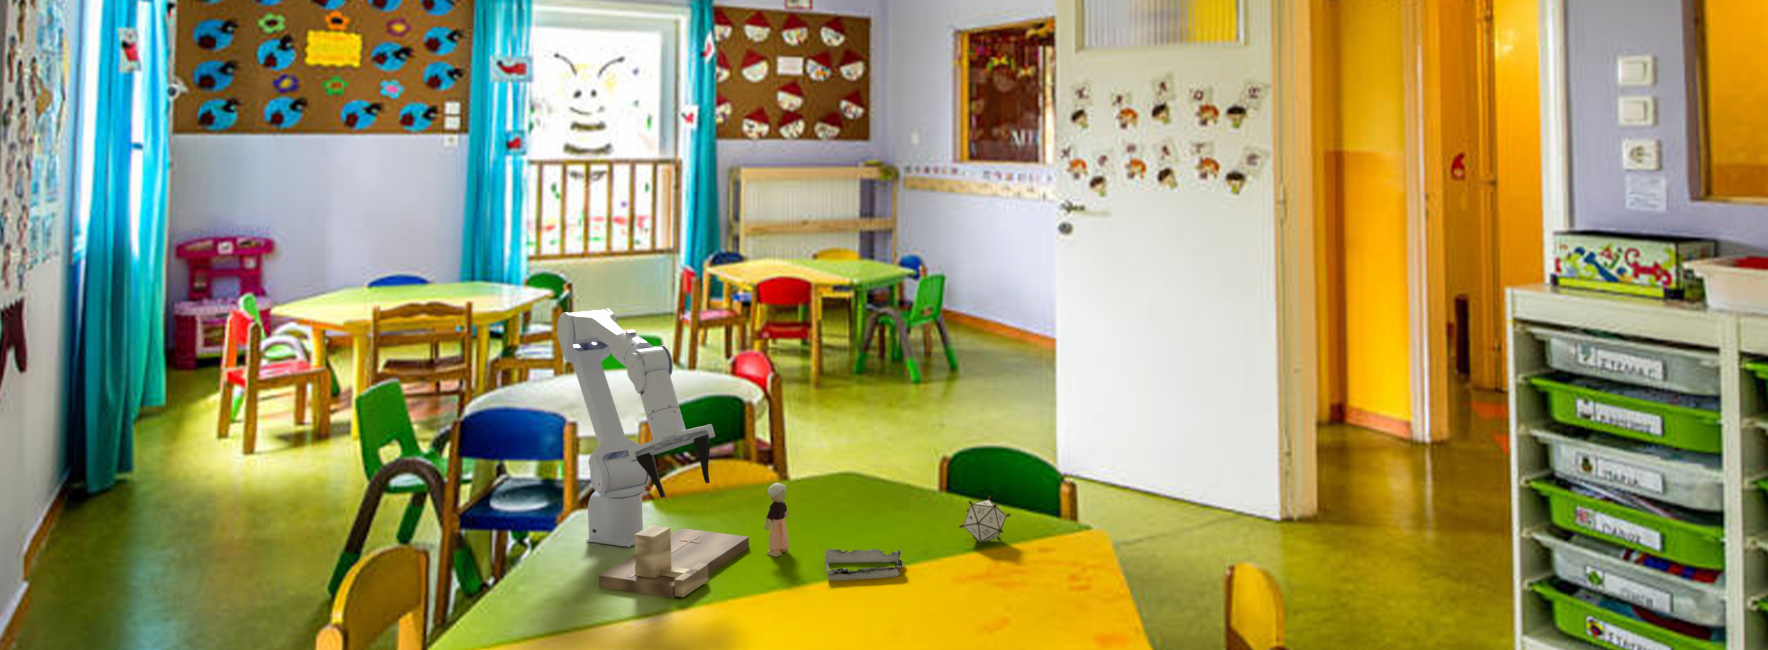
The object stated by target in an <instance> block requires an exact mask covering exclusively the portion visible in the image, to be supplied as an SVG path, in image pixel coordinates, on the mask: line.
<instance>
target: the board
mask: <svg viewBox="0 0 1768 650" xmlns="http://www.w3.org/2000/svg"><path fill="white" fill-rule="evenodd" d="M670 536H671V566H673V567H680V568H687V569H691V568H693V567H694V566H696V565H697V564H699V563H703V564H708V576H709V575H710V574H712V573H714V571H716V570H718V569H719V568H720V567H722V566H723V565H725V564H727V563H728V562H730V561H731V560H733V559H734V558H736V557H737V556H739V555H740V554H742V553H743V552H744V551H746V550H747V549H749V548H750V536H747V535H739V534H729V533H721V532H714V531H705V530H699V529H698V530H697V529H691V528H682V527H681V528H679V529H677V530H675V531H674V532H672V533H670ZM635 566H636V556H635V554H633V555H632V556H630V557H628V558H627V559H625V560H623V561H621V562H620V563H618V564H616V565H614V566H612V567H611V568H609V569H607V570H605V571H604V572H601V573H600V574H599V575H598V586H599V588H604V589H612V590H618V591H625V592H629V593H639V594H644V595H650V596H657V597H664V598H669V599H674V598H676V597H677V596H675V589H674V579H675V578H674V577H667V576H661V575H660V576H658V577H657V578H648V577H641V576H636V572H635Z"/></svg>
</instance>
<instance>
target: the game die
mask: <svg viewBox="0 0 1768 650" xmlns="http://www.w3.org/2000/svg"><path fill="white" fill-rule="evenodd" d="M991 498H992V497H991V495H988V496H987V499H986V500H982V501H977V502H974V503H973V501H971V500H968V504H969V508H968V509H966V512H967V514H966V516H965V519H964V521H963V524H960V525H958V528H960V529H962V528H964V529H965V530H966V531H967V532H968V533H969V534H970V535H971V536H972V537H973V538H975V539H976V540H977V542H979V543H978V546H979V547H981V546H982V543H983V542H987V541H991V540H995V539H997V540H998V541H1001V539H1002V538H1001V537H1000V535H1001V534H1002V533H1004V531H1003V526H1004V524H1005V523H1006V519H1007V517H1009V518H1010V517H1011V515H1012V514H1010V513H1007V514H1006V513H1005V512H1004V511H1002V510H1001V508H999V507H998V505H997V503H994V502H993V501H991Z"/></svg>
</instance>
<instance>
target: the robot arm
mask: <svg viewBox="0 0 1768 650" xmlns="http://www.w3.org/2000/svg"><path fill="white" fill-rule="evenodd" d="M556 334H557V339H558V342H559V346H560V349H561V352H562V354H563V357H564V359H565V361H566V362H568V363H571V364H572V365H573V368H574V372H575V374H576V378H577V381H578V384H579V387H580V390H581V394H582V396H583V400H584V403H585V407H586V409H587V412H588V417H589V418H590V421H591V425H592V428H593V432H594V435H595V437H596V441H597V444H598V445H597V447H595V449H594V450H593V451H592V452H591V454H590V455H589V459H588V466H589V474H590V476H589V477H590V481H591V485H592V487H593V490H594V491H593V493H592V494H591V495H590V497H589V500H588V504H587V518H588V519H587V520H588V538H586V542H589V543H597V544H605V545H612V546H619V547H626V548H630V547H633V546H635V534H637V533H638V532H640V531H642V530H644V523H643V520H644V519H643V495H642V493H643V492H645V491H646V487H647V486H648V485H649V483H650V482H651V481H652V482H653V484H654V486H655V488H656V489H657V490H656V491H658V494H659V497H660V498H661V499H663V498H665V497H666V493H665V490H664V487H663V484H662V482H661V479H660V476H659V472H658V468H657V462H656V460H655V458H654V457H653V456H655V455H658V454H661V453H664V452H669V451H671V450H674V449H676V448H680V447H683V446H686V445H691V444H693V443H694V445H695V449H696V453H697V455H698V460H699V462H700V463H699V464H700V467H701V472H702V477H703V479H704V483H705V484H709V483H711V482H710V473H709V461H710V452H711V450H710V449H711V444H712V443H711V440H710V439H712V438H715V437H716V434H715V431H714V427H713V424H712V423H709V424H706V425H703V426H702V425H701V426H697V427H693V428H689V429H686V426H685V421H684V419H683V415H682V413H681V409H680V405H679V400H678V398H677V395H676V392H675V388H674V385H673V381H672V377H671V375H672V373H673V368H674V367H673V366H674V365H673V363H674V362H673V358H672V354H671V352H670V350H669V349H668V348H667V346H666V345H663V344H662V345H661V344H660V345H658V346H653V345H652V344H650V343H649V341H647V340H645V339H644V338H643V337H641V336H640V335H638V334H637V331H636V330H634V329H627V330H623V329H622V328H621V327H620V326H619V325H618V323H617V318H616V314H615V312H613V311H612V310H611V309H610V308H604V309H599V310H585V311H575V312H567V311H566V312H562V313H561V314H560V315H559V317H558V319H557V329H556ZM610 355H612V356H613V358H614V359H615V360H617V361H618V362H619V363H620V364H622V366H624V367H625V368H626V371H627V372H626V373H627V376H628V379H629V380H630V381H631V383H632V384H633V386H634V390H635V391H636V393H637V394H639V395H640V399H641V401H642V405H643V409H644V413H645V417H646V421H647V423H648V427H649V429H650V433H651V437H652V440H650V441H647V442H645V443H642V444H640V443H638V442H636V441H634V440H632V439H630V438H629V437H626V435H625V433H624V429H623V426H622V423H621V420H620V417H619V413H618V410H617V407H616V404H615V402H614V398H613V395H612V392H611V390H610V386H609V383H608V380H607V377H606V374H605V370H604V367H603V365H602V363H603V361H604V360H605V359H607V358H608V357H609V356H610Z"/></svg>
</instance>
